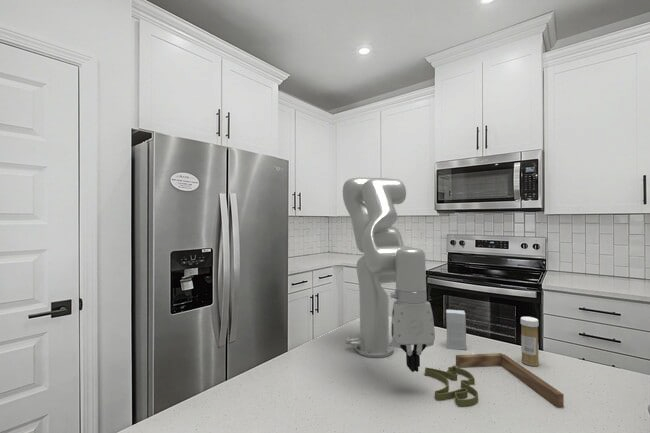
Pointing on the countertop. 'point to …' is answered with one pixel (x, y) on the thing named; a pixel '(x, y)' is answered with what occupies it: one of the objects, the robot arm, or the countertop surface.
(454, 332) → the skincare box
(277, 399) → the countertop surface
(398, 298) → the robot arm
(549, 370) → the countertop surface
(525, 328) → the sprinkles bottle
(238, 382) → the countertop surface
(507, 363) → the walnut fence
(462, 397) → the cookie cutter
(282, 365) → the countertop surface
